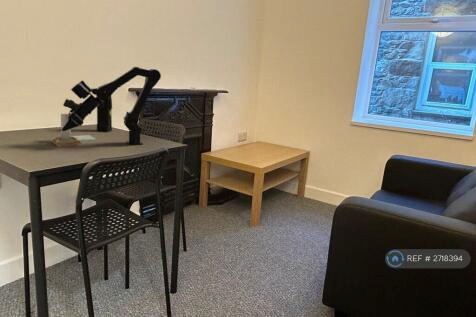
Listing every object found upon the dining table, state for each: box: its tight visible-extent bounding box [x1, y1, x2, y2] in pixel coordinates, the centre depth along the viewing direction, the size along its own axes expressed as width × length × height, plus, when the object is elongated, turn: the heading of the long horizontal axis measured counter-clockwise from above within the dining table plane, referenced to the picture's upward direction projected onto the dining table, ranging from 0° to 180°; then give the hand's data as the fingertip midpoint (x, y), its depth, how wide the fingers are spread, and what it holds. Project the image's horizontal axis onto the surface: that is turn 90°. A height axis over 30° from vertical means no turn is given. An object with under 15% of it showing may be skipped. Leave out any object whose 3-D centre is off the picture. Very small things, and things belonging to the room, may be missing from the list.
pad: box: [71, 134, 97, 142], centre depth 176 cm, size 10×10×1 cm
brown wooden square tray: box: [51, 135, 82, 148], centre depth 162 cm, size 10×10×2 cm
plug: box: [59, 113, 73, 141], centre depth 161 cm, size 6×6×14 cm
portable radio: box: [95, 95, 113, 133], centre depth 198 cm, size 8×6×25 cm
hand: (62, 129), depth 160 cm, fingers open, 7 cm apart
